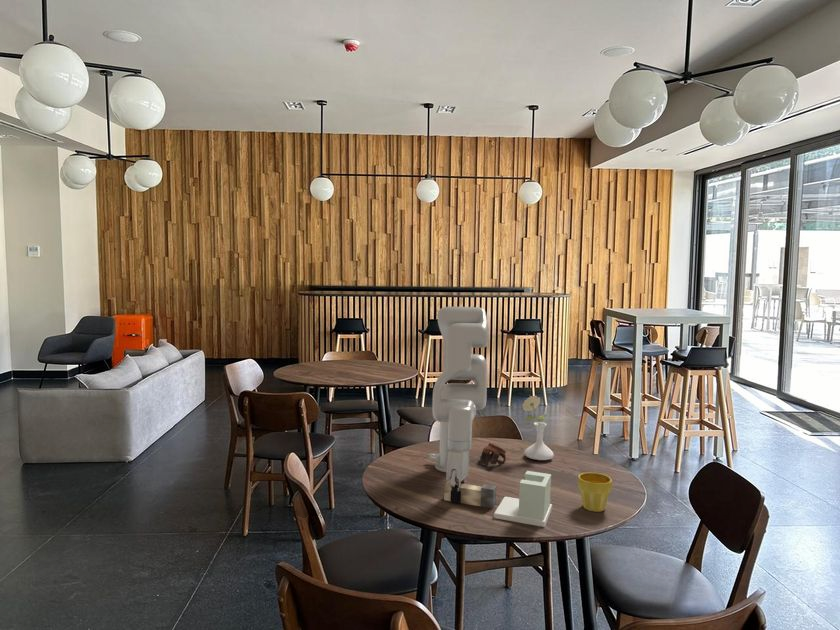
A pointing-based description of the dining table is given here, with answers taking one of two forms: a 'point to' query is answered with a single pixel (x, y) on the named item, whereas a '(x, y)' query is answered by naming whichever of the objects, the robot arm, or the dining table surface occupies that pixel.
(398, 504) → the dining table surface
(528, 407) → the flower in vase
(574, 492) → the dining table surface
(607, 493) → the plant pot
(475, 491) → the rail
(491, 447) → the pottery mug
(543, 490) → the slotted block on base
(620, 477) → the dining table surface
